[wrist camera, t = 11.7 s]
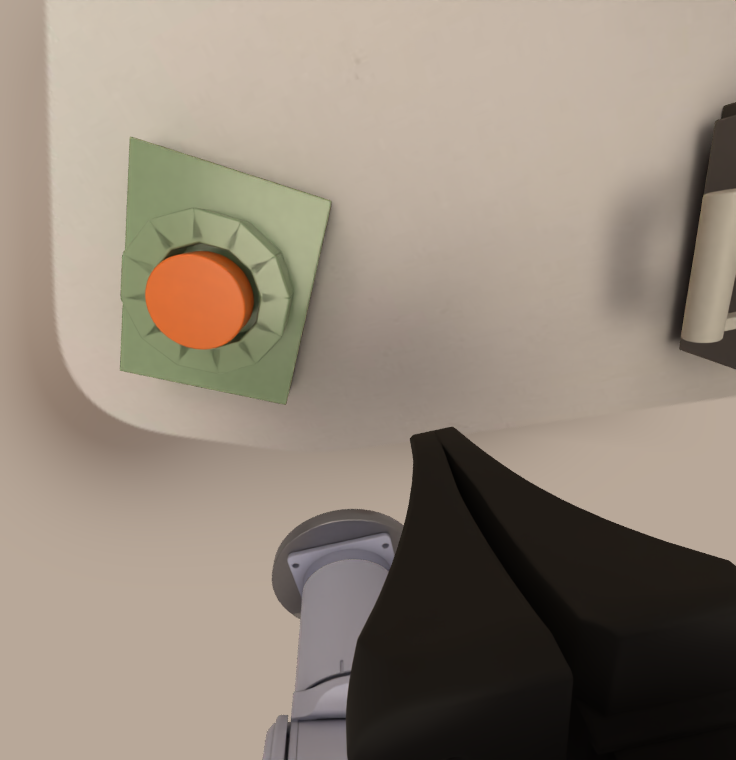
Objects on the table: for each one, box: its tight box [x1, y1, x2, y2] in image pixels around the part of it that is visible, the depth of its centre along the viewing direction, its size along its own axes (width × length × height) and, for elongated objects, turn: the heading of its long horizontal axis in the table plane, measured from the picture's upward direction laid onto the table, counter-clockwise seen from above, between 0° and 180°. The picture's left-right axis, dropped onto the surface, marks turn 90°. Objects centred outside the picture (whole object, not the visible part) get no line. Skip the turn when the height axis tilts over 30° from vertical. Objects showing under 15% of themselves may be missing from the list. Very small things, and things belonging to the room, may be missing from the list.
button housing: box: [120, 137, 331, 405], centre depth 17 cm, size 10×8×4 cm
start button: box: [145, 251, 254, 350], centre depth 14 cm, size 4×4×2 cm
